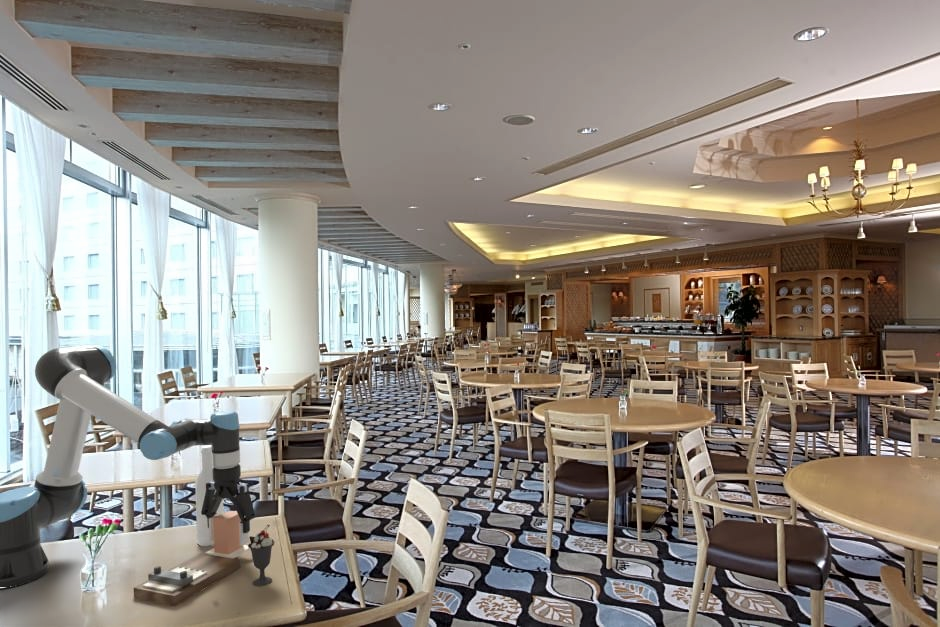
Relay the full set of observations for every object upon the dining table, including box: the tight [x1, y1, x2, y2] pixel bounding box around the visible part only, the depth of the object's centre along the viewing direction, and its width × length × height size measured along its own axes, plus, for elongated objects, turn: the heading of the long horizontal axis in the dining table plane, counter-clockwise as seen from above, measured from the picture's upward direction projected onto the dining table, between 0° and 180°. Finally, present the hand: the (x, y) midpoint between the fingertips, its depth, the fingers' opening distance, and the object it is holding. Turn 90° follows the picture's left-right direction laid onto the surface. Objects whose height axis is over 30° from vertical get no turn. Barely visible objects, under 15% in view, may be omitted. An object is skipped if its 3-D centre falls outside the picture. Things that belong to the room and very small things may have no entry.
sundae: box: [247, 524, 275, 587], centre depth 153 cm, size 7×7×15 cm
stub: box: [205, 510, 251, 559], centre depth 167 cm, size 10×8×10 cm
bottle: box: [194, 445, 225, 547], centre depth 181 cm, size 8×8×30 cm
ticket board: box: [133, 552, 242, 607], centre depth 154 cm, size 14×22×6 cm, turn 159°
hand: (228, 541), depth 167 cm, fingers open, 10 cm apart
